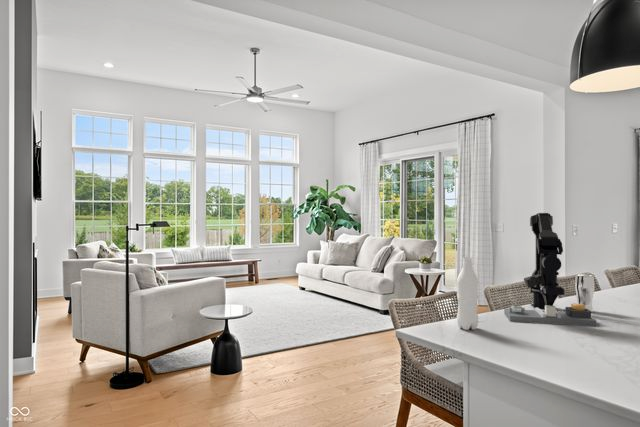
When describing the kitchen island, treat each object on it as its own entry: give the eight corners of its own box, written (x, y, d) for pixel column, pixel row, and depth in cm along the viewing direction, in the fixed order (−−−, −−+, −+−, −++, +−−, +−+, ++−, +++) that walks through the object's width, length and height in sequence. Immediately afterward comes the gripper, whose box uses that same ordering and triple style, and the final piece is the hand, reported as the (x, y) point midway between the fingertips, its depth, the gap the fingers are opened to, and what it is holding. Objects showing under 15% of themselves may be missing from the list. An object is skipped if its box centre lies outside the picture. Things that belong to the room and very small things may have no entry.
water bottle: (479, 331, 150) (479, 259, 150) (458, 330, 151) (458, 258, 151) (476, 326, 157) (476, 256, 157) (455, 325, 158) (455, 256, 158)
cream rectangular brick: (544, 314, 165) (544, 305, 165) (554, 315, 164) (554, 305, 164) (546, 316, 162) (546, 306, 162) (556, 316, 162) (555, 307, 162)
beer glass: (589, 309, 185) (589, 274, 185) (597, 312, 178) (597, 276, 178) (571, 308, 186) (571, 273, 186) (580, 312, 179) (580, 276, 179)
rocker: (511, 308, 172) (511, 306, 173) (519, 309, 172) (519, 306, 172) (513, 308, 168) (513, 305, 168) (522, 309, 167) (522, 306, 167)
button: (569, 309, 167) (569, 303, 167) (582, 310, 166) (582, 303, 166) (573, 311, 163) (573, 305, 163) (586, 312, 162) (586, 306, 162)
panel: (504, 313, 177) (504, 302, 177) (583, 317, 170) (583, 306, 170) (510, 321, 164) (510, 309, 164) (596, 326, 157) (596, 313, 157)
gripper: (520, 265, 177) (520, 303, 176) (531, 271, 158) (531, 313, 158) (550, 266, 174) (550, 305, 174) (565, 272, 156) (565, 315, 156)
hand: (548, 309), depth 165 cm, fingers closed
